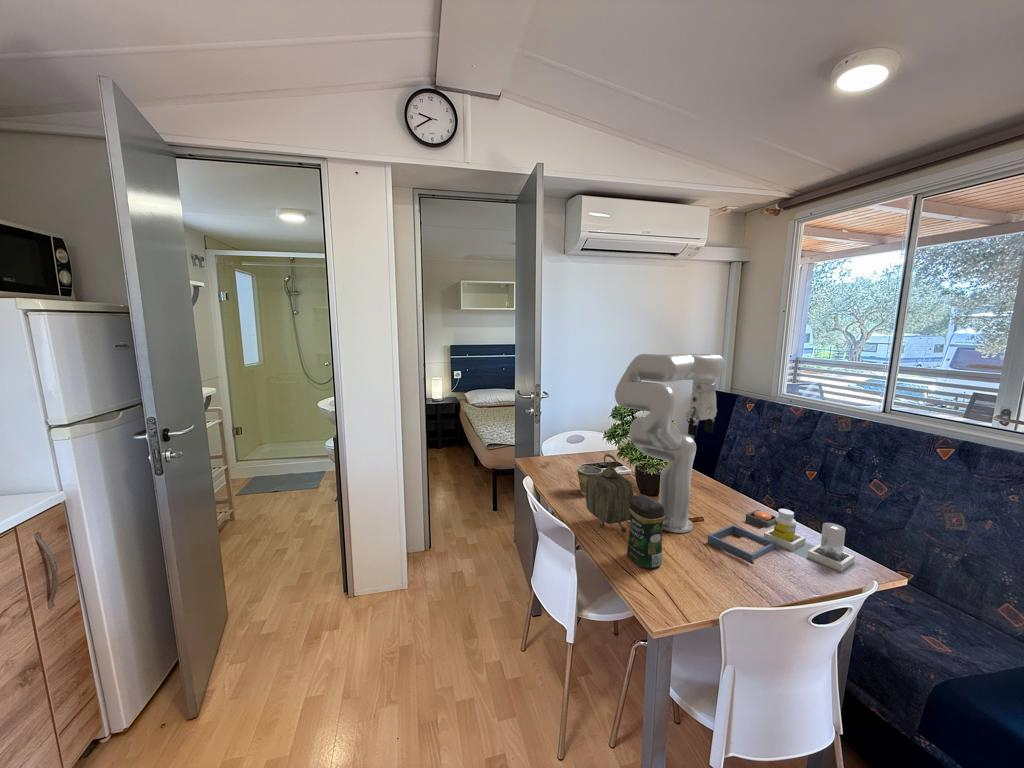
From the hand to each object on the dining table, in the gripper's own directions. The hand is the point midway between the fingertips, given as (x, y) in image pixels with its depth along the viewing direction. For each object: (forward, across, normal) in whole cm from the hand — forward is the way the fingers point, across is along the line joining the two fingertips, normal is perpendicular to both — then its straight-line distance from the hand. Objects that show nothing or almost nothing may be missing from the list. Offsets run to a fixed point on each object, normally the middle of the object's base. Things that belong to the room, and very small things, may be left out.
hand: (700, 433), depth 147 cm
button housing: (+28, +8, -20) cm, 36 cm away
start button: (+27, +8, -20) cm, 34 cm away
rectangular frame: (+28, -14, -25) cm, 40 cm away
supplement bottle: (+28, -1, -31) cm, 41 cm away
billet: (+27, -1, -43) cm, 51 cm away
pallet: (+28, -1, -37) cm, 47 cm away
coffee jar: (+28, -46, -15) cm, 56 cm away
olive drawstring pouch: (+28, -41, +5) cm, 50 cm away
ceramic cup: (+28, -25, +30) cm, 48 cm away
